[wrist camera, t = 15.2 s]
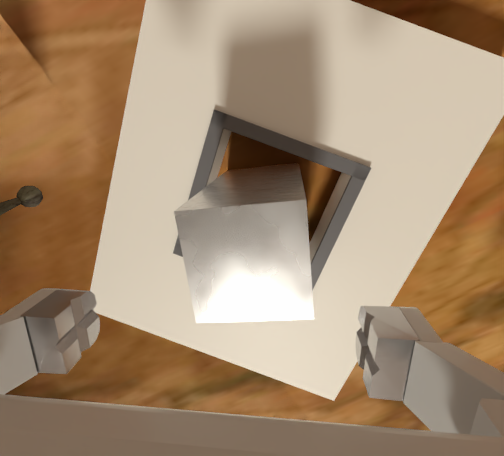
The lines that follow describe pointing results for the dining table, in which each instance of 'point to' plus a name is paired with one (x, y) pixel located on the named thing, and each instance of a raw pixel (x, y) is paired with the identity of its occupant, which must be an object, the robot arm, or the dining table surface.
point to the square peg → (248, 247)
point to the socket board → (300, 144)
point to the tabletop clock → (23, 199)
